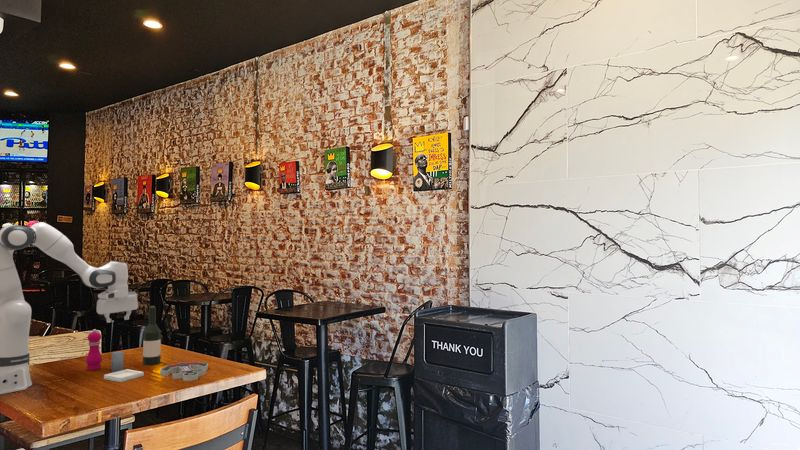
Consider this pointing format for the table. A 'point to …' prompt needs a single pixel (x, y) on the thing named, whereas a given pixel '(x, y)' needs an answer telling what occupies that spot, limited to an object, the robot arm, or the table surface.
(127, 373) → the serving tray
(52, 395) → the table surface
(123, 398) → the table surface
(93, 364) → the pepper mill
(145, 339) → the wine bottle
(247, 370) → the table surface
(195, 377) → the decorative sign
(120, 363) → the grey cylinder
